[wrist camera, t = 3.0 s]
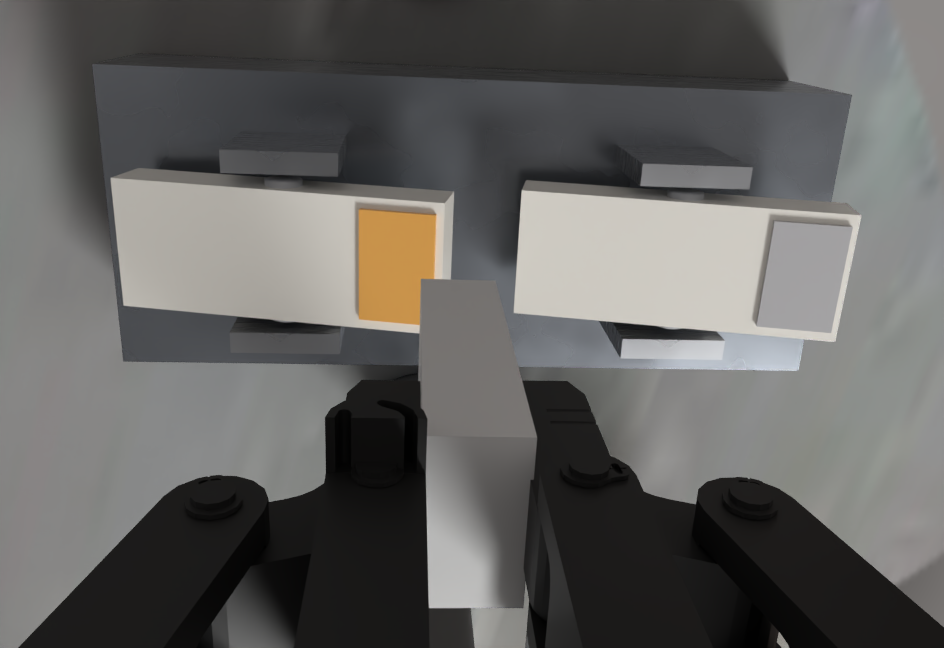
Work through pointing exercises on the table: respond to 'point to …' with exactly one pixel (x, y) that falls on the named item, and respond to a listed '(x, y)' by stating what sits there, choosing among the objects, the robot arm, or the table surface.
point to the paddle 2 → (684, 259)
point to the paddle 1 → (280, 247)
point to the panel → (461, 179)
